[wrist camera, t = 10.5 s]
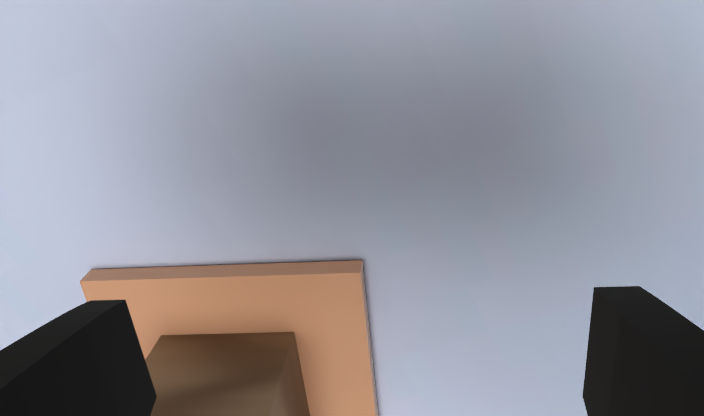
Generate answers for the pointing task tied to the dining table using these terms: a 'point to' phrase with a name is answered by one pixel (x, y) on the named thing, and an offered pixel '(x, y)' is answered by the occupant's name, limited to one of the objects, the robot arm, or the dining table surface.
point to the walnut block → (227, 375)
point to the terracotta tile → (261, 317)
